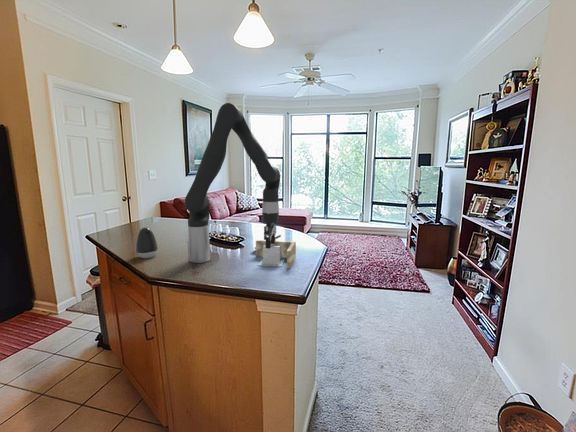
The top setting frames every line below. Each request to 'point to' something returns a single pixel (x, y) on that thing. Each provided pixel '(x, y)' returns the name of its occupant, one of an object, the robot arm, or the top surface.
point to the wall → (275, 238)
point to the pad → (273, 266)
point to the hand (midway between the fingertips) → (270, 245)
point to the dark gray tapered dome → (146, 243)
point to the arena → (286, 250)
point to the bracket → (271, 256)
